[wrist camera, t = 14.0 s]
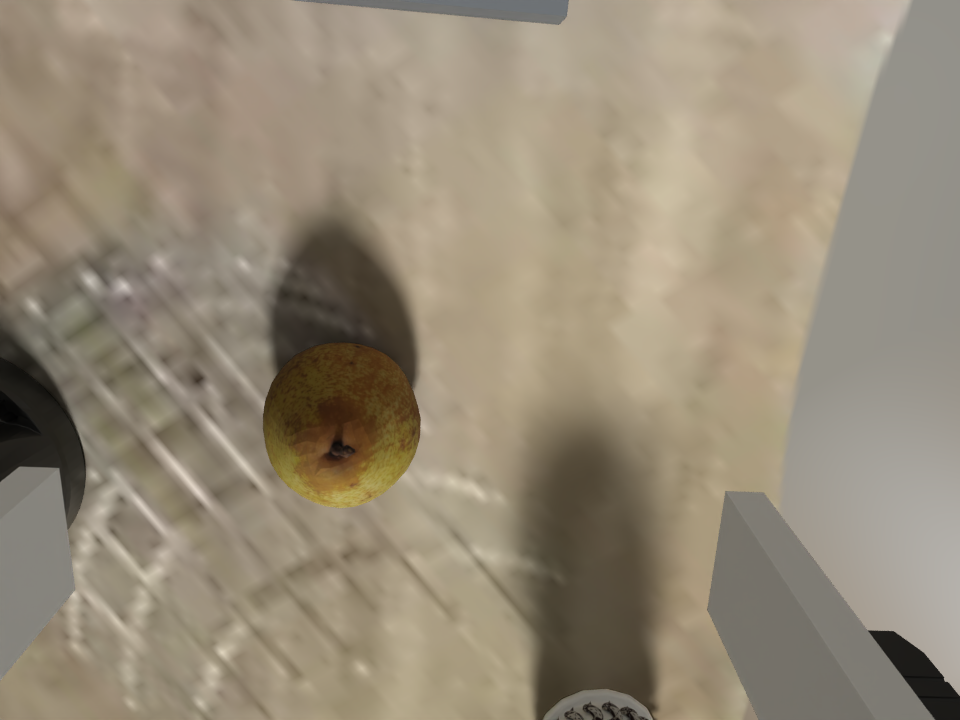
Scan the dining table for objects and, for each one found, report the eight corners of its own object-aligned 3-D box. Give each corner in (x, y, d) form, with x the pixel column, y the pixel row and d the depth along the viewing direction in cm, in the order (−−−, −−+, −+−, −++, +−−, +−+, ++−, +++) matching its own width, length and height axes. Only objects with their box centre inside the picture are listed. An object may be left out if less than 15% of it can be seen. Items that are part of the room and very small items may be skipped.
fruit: (302, 477, 49) (247, 589, 38) (265, 340, 46) (193, 416, 35) (437, 455, 49) (423, 561, 37) (407, 315, 46) (382, 384, 35)
